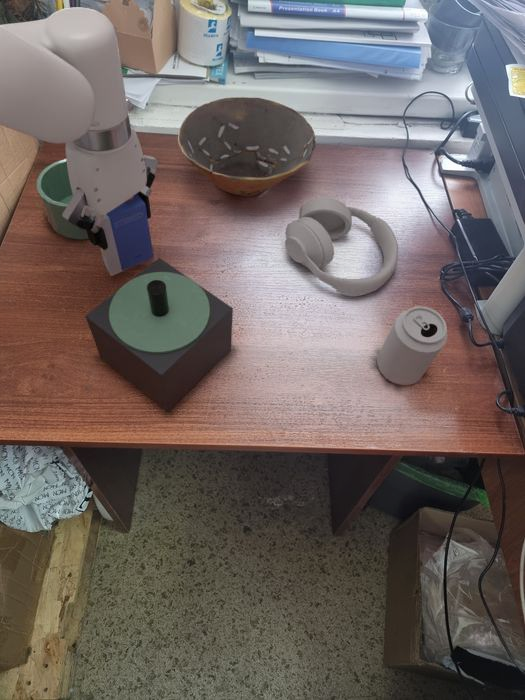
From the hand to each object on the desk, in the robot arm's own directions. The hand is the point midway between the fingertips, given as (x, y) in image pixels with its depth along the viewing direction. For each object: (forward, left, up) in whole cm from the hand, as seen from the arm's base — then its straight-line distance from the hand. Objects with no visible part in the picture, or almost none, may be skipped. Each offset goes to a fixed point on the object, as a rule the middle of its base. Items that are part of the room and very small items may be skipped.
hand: (121, 228), depth 77 cm
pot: (+4, +16, -10) cm, 19 cm away
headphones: (+27, -25, -10) cm, 38 cm away
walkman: (0, 0, -8) cm, 8 cm away
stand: (-8, -16, -10) cm, 21 cm away
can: (+14, -45, -10) cm, 48 cm away
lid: (-8, -16, +1) cm, 18 cm away
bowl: (+32, +1, -10) cm, 34 cm away
